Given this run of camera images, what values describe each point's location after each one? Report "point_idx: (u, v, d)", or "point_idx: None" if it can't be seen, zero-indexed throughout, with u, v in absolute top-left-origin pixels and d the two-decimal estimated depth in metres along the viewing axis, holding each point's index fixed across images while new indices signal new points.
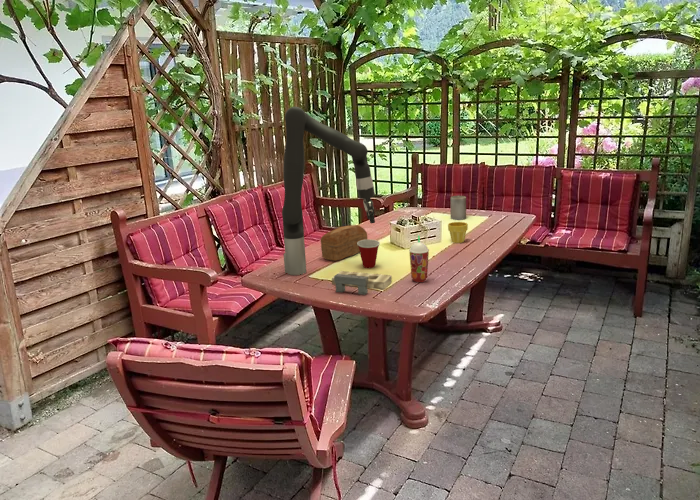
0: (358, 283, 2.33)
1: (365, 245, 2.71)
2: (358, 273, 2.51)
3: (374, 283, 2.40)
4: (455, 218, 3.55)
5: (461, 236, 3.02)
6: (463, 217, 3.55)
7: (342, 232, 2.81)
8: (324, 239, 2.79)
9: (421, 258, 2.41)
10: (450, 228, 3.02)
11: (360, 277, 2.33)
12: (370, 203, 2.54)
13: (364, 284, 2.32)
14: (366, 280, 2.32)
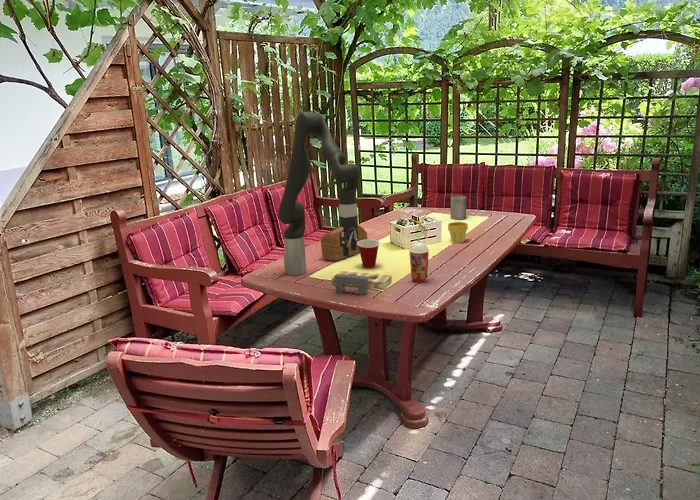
0: (358, 283, 2.33)
1: (365, 245, 2.71)
2: (358, 273, 2.51)
3: (374, 283, 2.40)
4: (455, 218, 3.55)
5: (461, 236, 3.02)
6: (463, 217, 3.55)
7: None
8: (324, 239, 2.79)
9: (421, 258, 2.41)
10: (450, 228, 3.02)
11: (360, 277, 2.33)
12: (343, 234, 2.23)
13: (364, 284, 2.32)
14: (366, 280, 2.32)
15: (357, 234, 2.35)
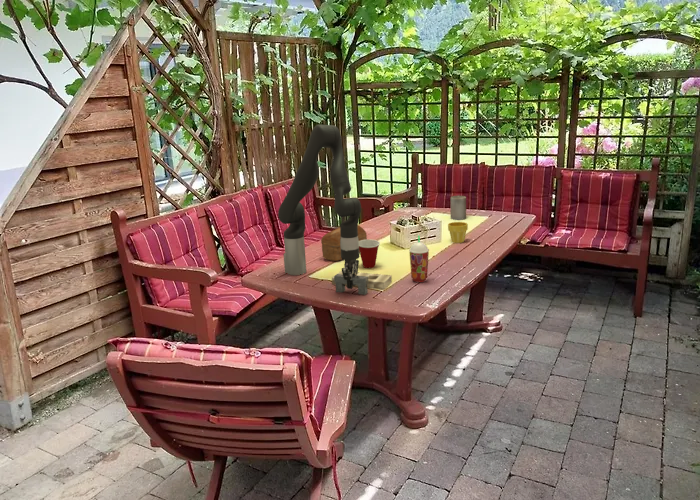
0: (358, 283, 2.33)
1: (365, 245, 2.71)
2: (358, 273, 2.51)
3: (374, 283, 2.40)
4: (455, 218, 3.55)
5: (461, 236, 3.02)
6: (463, 217, 3.55)
7: None
8: (325, 239, 2.79)
9: (421, 258, 2.41)
10: (450, 228, 3.02)
11: (360, 277, 2.33)
12: (345, 271, 2.28)
13: (364, 284, 2.32)
14: (366, 280, 2.32)
15: (357, 269, 2.38)
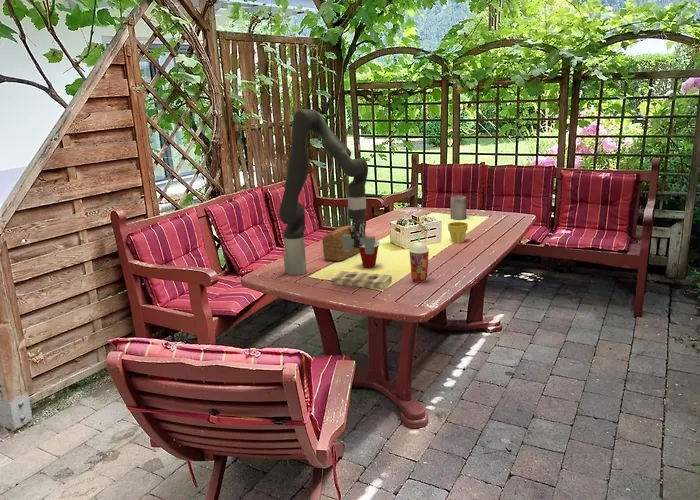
0: (365, 243, 2.38)
1: None
2: (358, 273, 2.51)
3: (374, 283, 2.40)
4: (455, 218, 3.55)
5: (461, 236, 3.02)
6: (463, 217, 3.55)
7: (344, 232, 2.81)
8: (327, 240, 2.78)
9: (421, 258, 2.41)
10: (450, 228, 3.02)
11: (367, 237, 2.38)
12: (352, 229, 2.33)
13: (371, 243, 2.37)
14: (373, 240, 2.38)
15: (364, 229, 2.43)
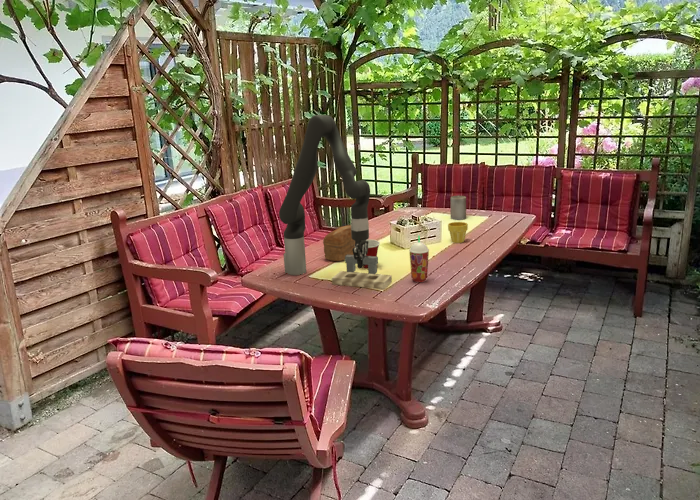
0: (368, 263, 2.42)
1: None
2: (358, 273, 2.51)
3: (374, 283, 2.40)
4: (455, 218, 3.55)
5: (461, 236, 3.02)
6: (463, 217, 3.55)
7: (344, 232, 2.81)
8: (328, 240, 2.77)
9: (421, 258, 2.41)
10: (450, 228, 3.02)
11: (370, 257, 2.42)
12: (355, 250, 2.37)
13: (374, 264, 2.41)
14: (376, 260, 2.42)
15: (366, 249, 2.47)
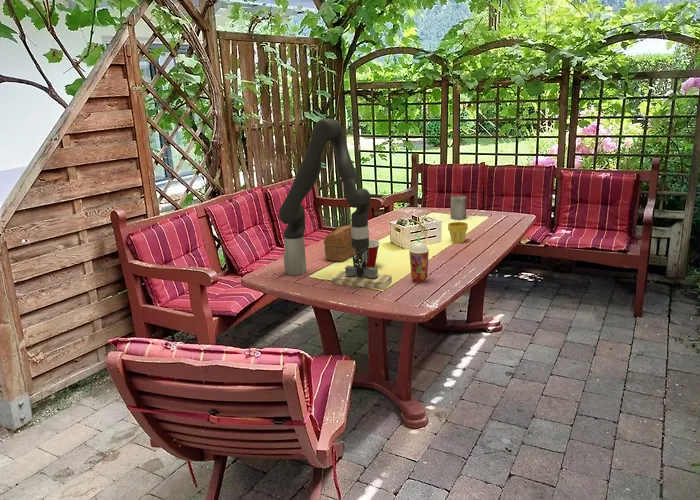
0: (368, 274, 2.43)
1: None
2: None
3: (374, 283, 2.40)
4: (455, 218, 3.55)
5: (461, 236, 3.02)
6: (463, 217, 3.55)
7: (345, 232, 2.81)
8: (329, 240, 2.77)
9: (421, 258, 2.41)
10: (450, 228, 3.02)
11: (370, 268, 2.44)
12: (355, 257, 2.38)
13: (374, 275, 2.43)
14: (376, 271, 2.43)
15: (367, 256, 2.48)
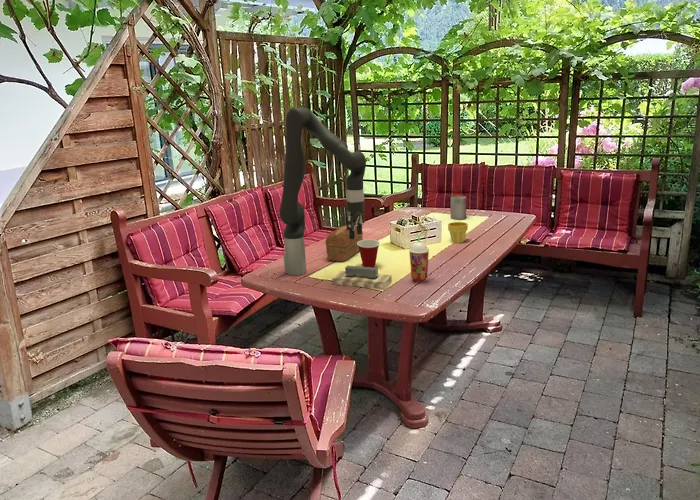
0: (368, 274, 2.43)
1: (365, 245, 2.71)
2: None
3: (374, 283, 2.40)
4: (455, 218, 3.55)
5: (461, 236, 3.02)
6: (463, 217, 3.55)
7: (346, 232, 2.81)
8: (331, 240, 2.77)
9: (421, 258, 2.41)
10: (450, 228, 3.02)
11: (370, 268, 2.44)
12: (349, 218, 2.37)
13: (374, 275, 2.43)
14: (376, 271, 2.43)
15: (363, 219, 2.48)
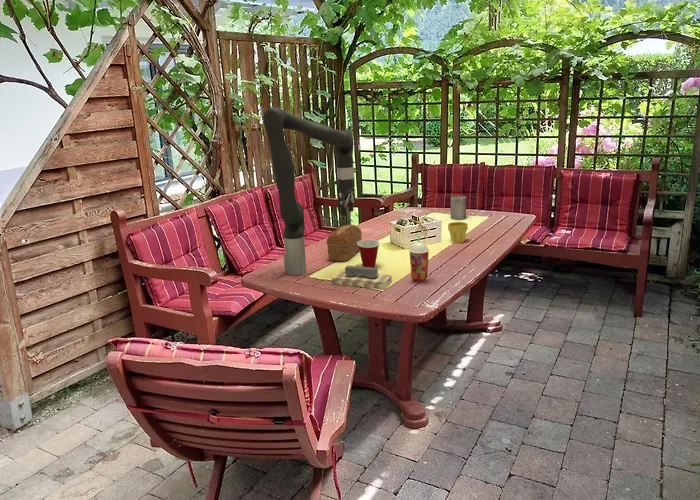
0: (368, 274, 2.43)
1: (365, 245, 2.71)
2: None
3: (374, 283, 2.40)
4: (455, 218, 3.55)
5: (461, 236, 3.02)
6: (463, 217, 3.55)
7: (347, 232, 2.82)
8: (333, 240, 2.76)
9: (421, 258, 2.41)
10: (450, 228, 3.02)
11: (370, 268, 2.44)
12: (341, 195, 2.45)
13: (374, 275, 2.43)
14: (376, 271, 2.43)
15: (354, 197, 2.56)
